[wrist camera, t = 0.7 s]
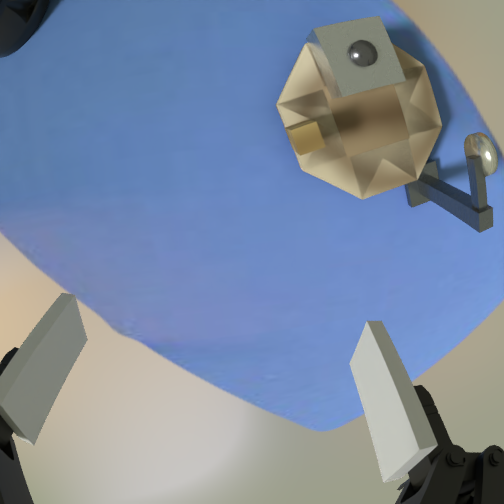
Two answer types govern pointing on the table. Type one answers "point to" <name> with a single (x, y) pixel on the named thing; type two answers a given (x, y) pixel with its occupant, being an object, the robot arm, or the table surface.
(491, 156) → the dial post
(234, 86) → the table surface
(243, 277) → the table surface
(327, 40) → the cover
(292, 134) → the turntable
